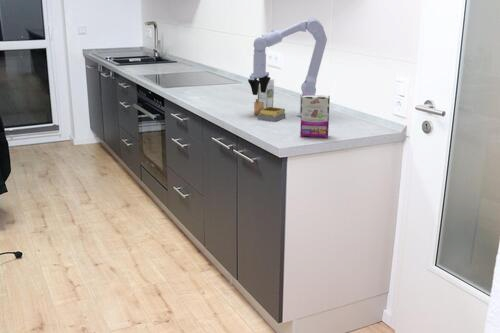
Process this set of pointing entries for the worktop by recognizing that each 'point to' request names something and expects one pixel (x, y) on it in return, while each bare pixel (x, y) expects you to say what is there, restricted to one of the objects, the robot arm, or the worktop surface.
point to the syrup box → (267, 94)
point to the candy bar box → (314, 116)
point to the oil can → (258, 107)
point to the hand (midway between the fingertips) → (259, 93)
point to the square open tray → (271, 114)
